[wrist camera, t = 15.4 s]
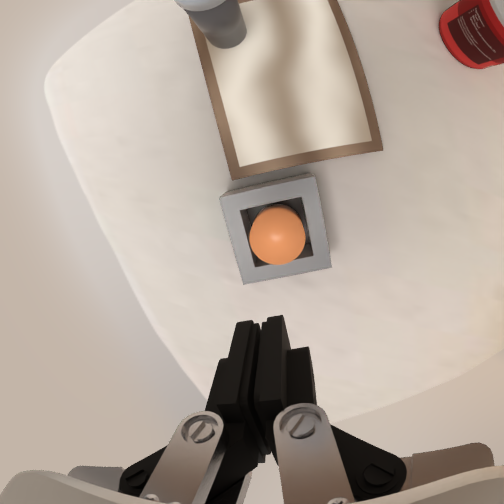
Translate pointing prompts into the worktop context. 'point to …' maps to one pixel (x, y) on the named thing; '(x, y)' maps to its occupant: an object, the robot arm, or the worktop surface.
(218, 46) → the grey tall cylinder
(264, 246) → the button
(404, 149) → the worktop surface
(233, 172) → the board
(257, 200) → the button housing
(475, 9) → the canned food
